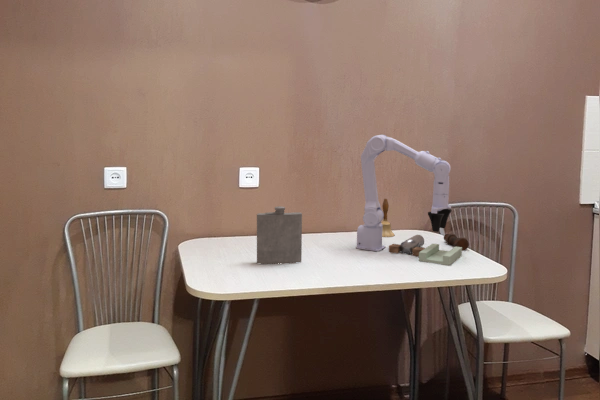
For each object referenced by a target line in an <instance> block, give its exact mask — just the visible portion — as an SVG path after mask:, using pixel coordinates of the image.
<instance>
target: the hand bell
mask: <svg viewBox="0 0 600 400" xmlns="http://www.w3.org/2000/svg"><path fill="white" fill-rule="evenodd" d="M381 207H382V211H383V213H384V218H383V220H382V221H381V223H382V225H383V226H382V227H383V229H382V238H393V237H395V233H394V231H393V230H392V227H391V223H390V221H388V213H389V212H388V211H389V201H388V199H387V198H384V199H383V202H382V206H381Z"/></svg>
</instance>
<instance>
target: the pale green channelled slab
mask: <svg viewBox="0 0 600 400" xmlns="http://www.w3.org/2000/svg"><path fill="white" fill-rule="evenodd" d="M424 248H425V249H423V250H422V251H420V252H419V256H418V262H424V263H431V264H438V265H443V266H451V265H452V264H454V263H455V262H456V261H457V260H458V259H460V257H462V255H463V251H462V247H456V246H453V248H451V249H450V250H443V249H442V250H441V249H440V244H439V243H431V244H430V245H428V246H426V247H424Z"/></svg>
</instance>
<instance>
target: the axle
mask: <svg viewBox="0 0 600 400" xmlns="http://www.w3.org/2000/svg"><path fill="white" fill-rule="evenodd" d="M424 238H425V237H423V236H422V235H421V234H415V235H413V236H412V237H409V238H408V239H406V240H404V241H402V242H401V243H400V244H399V245H400V251H401V252H400V253H402V254H403V255H410V254H411V253H412V251H413V249H414V248H415V247H421V248H422V247H423V246H424V245H425V239H424Z"/></svg>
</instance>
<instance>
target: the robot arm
mask: <svg viewBox="0 0 600 400" xmlns="http://www.w3.org/2000/svg"><path fill="white" fill-rule="evenodd" d="M387 151H389V152H390V151H396V152H397V153H398V154H399V153H400V154H402V155H404V156H406V157H408V158H409V159H412V160H414V163H415V165H417V166H418V167H421V168H423V169H424V170H426V171H428V172H430V173H433V175H434V176H433V177H434V179H433V186H432V188H433V189H432V203H431V209H430V211H428V212H427V216H428V218H429V220H430V223H431V229H432V232H436V233H439V231H440V228H441V229H445V228H446V226H447V223H448V218H449V217H450V214H451V212H452V205H449V197H450V172H452V171H451V169H452V167H451V164H450V163H449V162H448V161H447V160H444V159H442V158H441V157H436V156H435V155H432V154H431V153H430V151H428V150H426V151H425V150H421V151H417V150H415V149H414V148H412V147H410V146H408V145H406V144H404V143H403V142H402V141H399V140H397V139H395V138H393V137H391V136H387V135H386V134H378V135H374V136H372V137H370V138H369V139H368V141H367V142H366V144H365V146H364V149H363V151H362V153H361V154H360V163H361V171H362V180H363V182H362V183H363V190H364V191H363V192H364V199H365V201H364V202H365V204H364V210H363V211H364V214H363V217H362V221H363V224H360V225H359V226H358V227H357V230H356V246H355V249H360V250H365V251H372V252H380V251H382V250H383V249H385V248H386V247H387V246H385V245H383V237H382V229H383V227H382V226H383V225H382V223H381V222H383V218H384V213H383V209H382V208H381V207H382V206H381V203H380V201H379V193H378V185H377V184H378V183H377V174H376V165H375V164H376V163H375V160H376V159H377V158H378V156H379V155H380V154H382V153H384V152H387Z"/></svg>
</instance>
